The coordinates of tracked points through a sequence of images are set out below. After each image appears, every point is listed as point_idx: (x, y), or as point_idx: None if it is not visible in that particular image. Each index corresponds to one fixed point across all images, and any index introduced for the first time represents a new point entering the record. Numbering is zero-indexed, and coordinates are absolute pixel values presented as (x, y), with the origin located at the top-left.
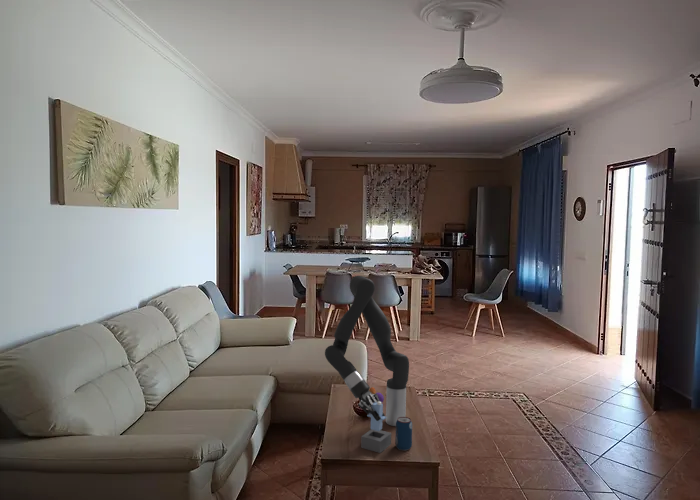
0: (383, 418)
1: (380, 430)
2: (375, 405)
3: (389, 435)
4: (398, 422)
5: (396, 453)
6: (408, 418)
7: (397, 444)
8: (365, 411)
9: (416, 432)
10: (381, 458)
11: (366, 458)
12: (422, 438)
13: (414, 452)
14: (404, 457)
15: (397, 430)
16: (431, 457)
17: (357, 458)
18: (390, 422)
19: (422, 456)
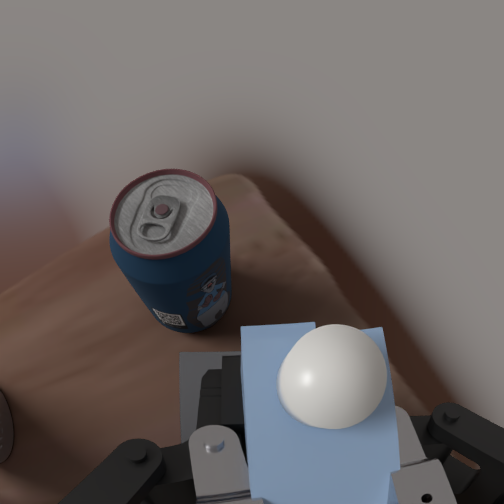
0: (305, 325)
1: (185, 430)
2: (394, 415)
3: (209, 353)
4: (213, 236)
5: (268, 296)
6: (120, 201)
7: (228, 302)
8: (460, 466)
9: (27, 308)
10: (354, 325)
11: (396, 374)
12: (69, 265)
13: None
14: (280, 253)
15: (225, 268)
16: (215, 181)
17: (419, 401)
18: (5, 435)
19: (226, 205)
